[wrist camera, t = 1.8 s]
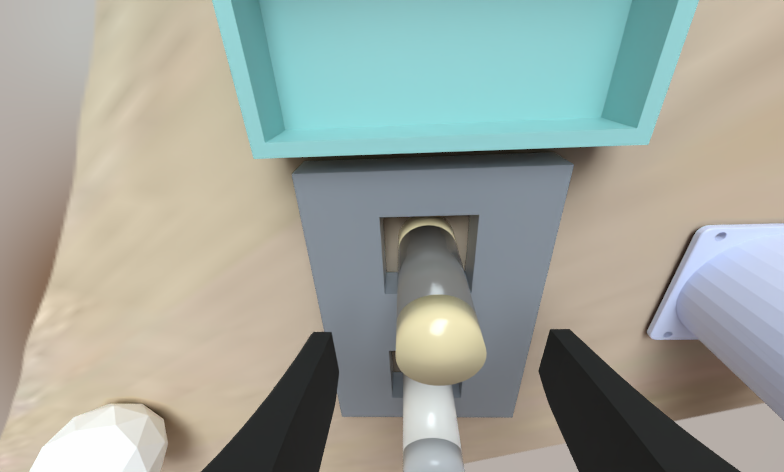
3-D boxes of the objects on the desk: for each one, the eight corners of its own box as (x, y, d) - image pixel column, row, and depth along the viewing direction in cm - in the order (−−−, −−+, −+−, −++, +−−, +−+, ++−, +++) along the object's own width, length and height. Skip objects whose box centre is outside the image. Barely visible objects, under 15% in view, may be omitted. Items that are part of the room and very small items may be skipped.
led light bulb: (454, 212, 17) (491, 323, 10) (451, 259, 18) (482, 385, 11) (397, 213, 17) (393, 324, 10) (399, 260, 18) (397, 385, 11)
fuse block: (554, 152, 15) (573, 164, 13) (504, 391, 24) (512, 417, 22) (304, 161, 16) (291, 174, 14) (346, 390, 24) (342, 416, 23)
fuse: (447, 334, 21) (468, 471, 14) (445, 364, 23) (464, 501, 16) (402, 334, 21) (401, 469, 14) (403, 364, 23) (403, 500, 16)
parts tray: (673, -124, 10) (763, -185, 8) (603, 128, 14) (648, 144, 12) (230, -90, 11) (177, -135, 9) (279, 141, 15) (253, 158, 12)
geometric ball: (146, 390, 30) (28, 465, 24) (131, 370, 24) (-29, 464, 19) (190, 459, 28) (75, 554, 23) (185, 457, 23) (30, 584, 17)
